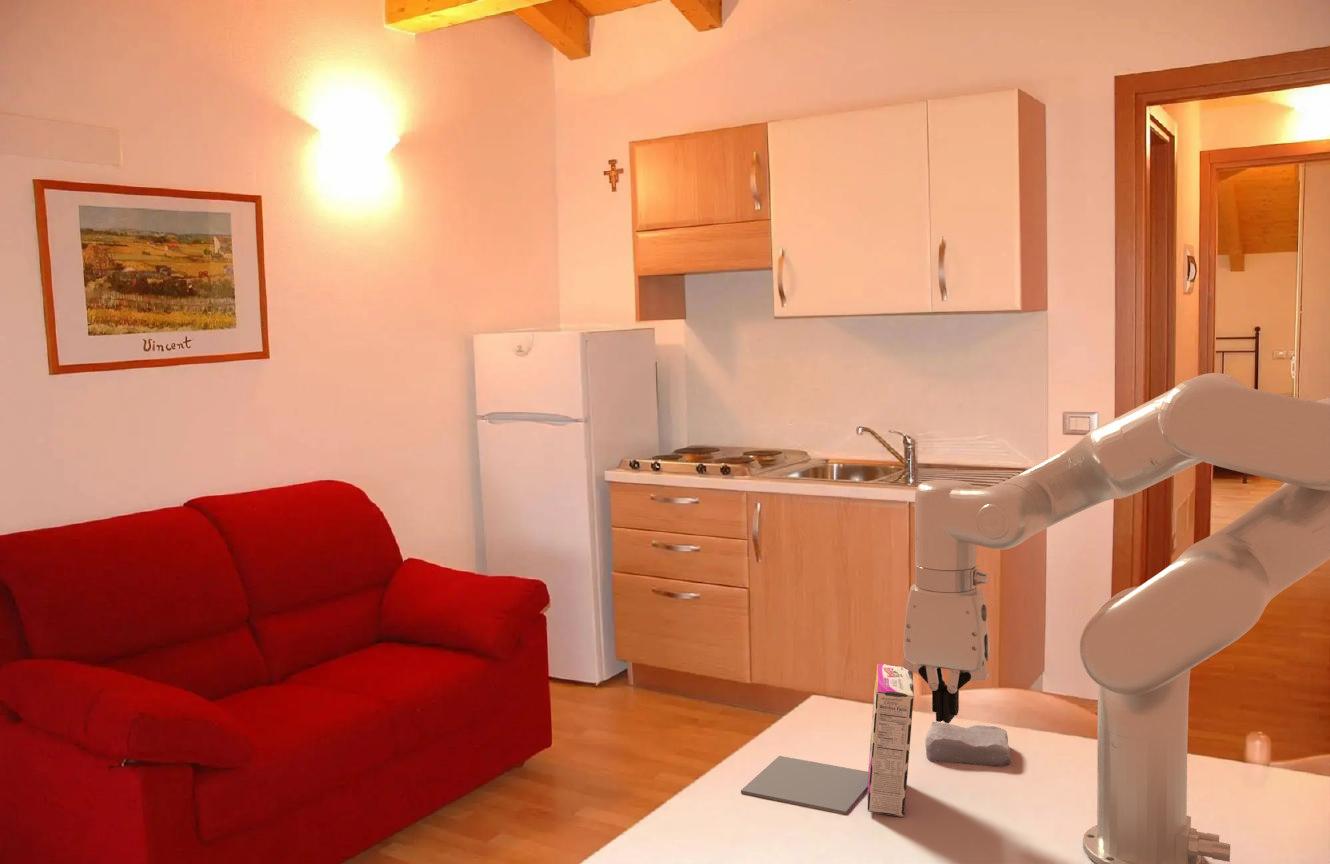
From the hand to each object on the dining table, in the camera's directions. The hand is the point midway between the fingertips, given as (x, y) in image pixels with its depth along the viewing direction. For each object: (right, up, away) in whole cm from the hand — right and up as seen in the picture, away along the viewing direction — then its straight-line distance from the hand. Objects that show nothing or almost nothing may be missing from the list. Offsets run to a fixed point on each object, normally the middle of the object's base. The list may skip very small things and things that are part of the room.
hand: (945, 718), depth 138 cm
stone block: (+8, -11, +20) cm, 24 cm away
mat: (-16, -12, +10) cm, 22 cm away
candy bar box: (-7, -12, +5) cm, 15 cm away
